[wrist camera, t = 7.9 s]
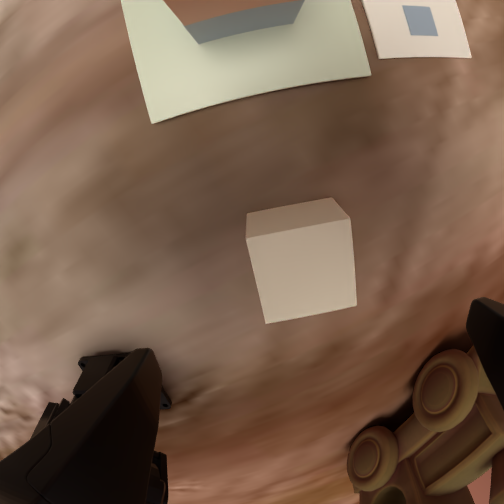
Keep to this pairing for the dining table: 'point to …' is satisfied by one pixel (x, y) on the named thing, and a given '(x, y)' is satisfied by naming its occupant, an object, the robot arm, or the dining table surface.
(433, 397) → the wooden toy train
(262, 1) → the brick
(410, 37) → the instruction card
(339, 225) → the brick
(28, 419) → the dining table surface
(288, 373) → the dining table surface
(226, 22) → the brick base
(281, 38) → the plate
